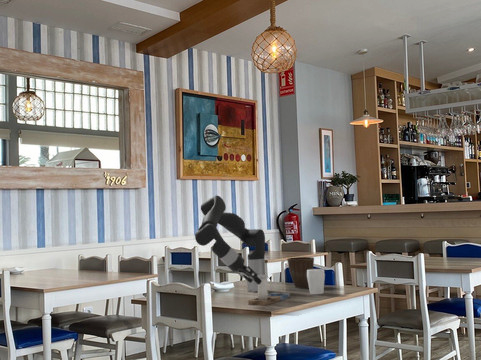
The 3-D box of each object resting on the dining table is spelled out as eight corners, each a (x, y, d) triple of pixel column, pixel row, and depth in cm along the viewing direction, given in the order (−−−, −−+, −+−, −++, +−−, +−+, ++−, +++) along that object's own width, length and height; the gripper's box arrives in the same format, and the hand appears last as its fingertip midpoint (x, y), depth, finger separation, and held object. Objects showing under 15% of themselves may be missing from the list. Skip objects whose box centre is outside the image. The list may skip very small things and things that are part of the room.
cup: (322, 291, 305) (321, 268, 306) (328, 294, 296) (326, 269, 297) (305, 293, 304) (304, 269, 305) (310, 295, 295) (309, 271, 296)
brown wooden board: (248, 305, 269) (248, 300, 269) (273, 297, 292) (273, 292, 292) (266, 306, 265) (265, 301, 265) (290, 298, 288) (290, 293, 288)
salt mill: (256, 303, 272) (255, 275, 272) (261, 302, 275) (259, 274, 276) (265, 303, 269) (264, 275, 270) (269, 302, 273) (268, 274, 274)
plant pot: (318, 287, 323) (317, 258, 324) (291, 289, 321) (290, 259, 322) (311, 284, 337) (310, 256, 338) (286, 286, 335) (284, 258, 336)
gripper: (220, 264, 271) (244, 287, 276) (233, 266, 259) (258, 290, 263) (230, 251, 274) (253, 274, 278) (243, 253, 261) (268, 277, 265)
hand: (255, 282), depth 271 cm, fingers open, 8 cm apart
